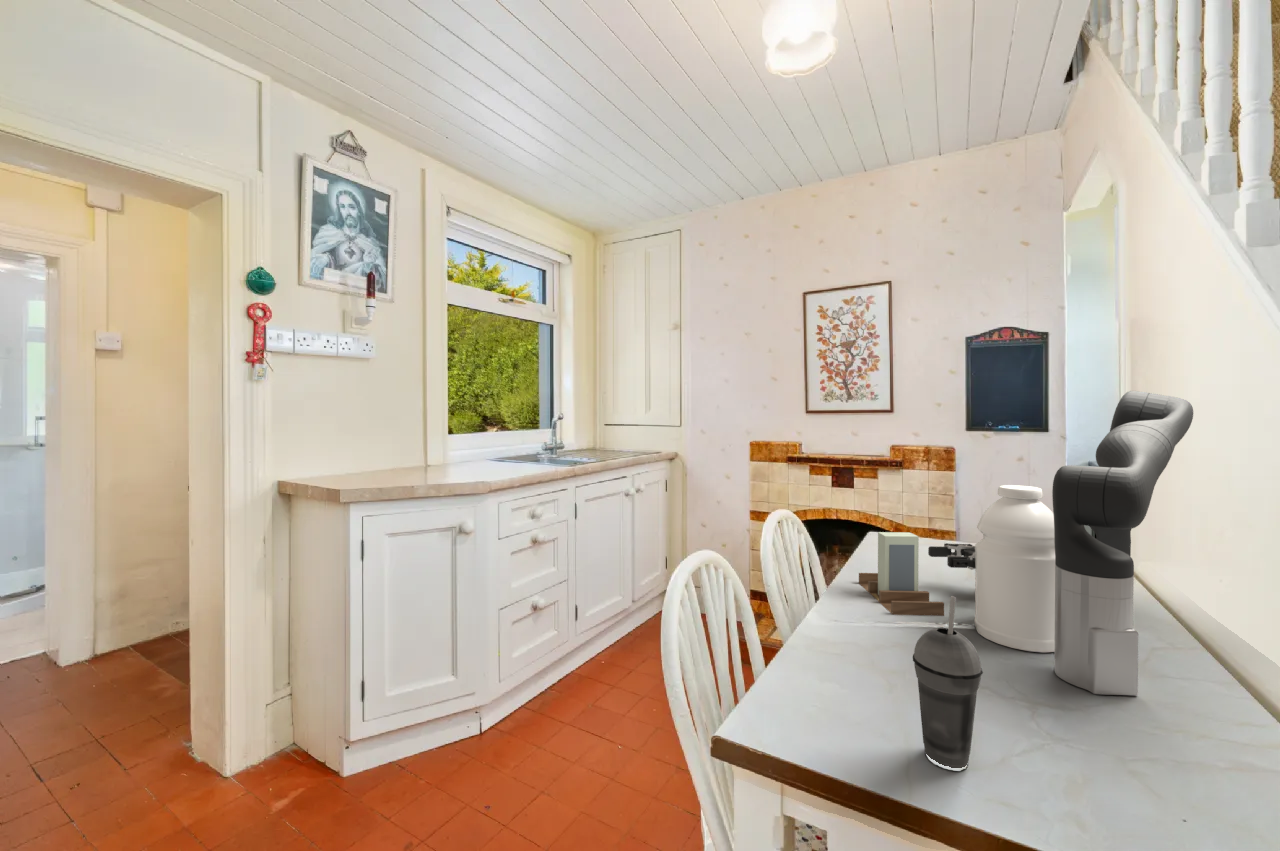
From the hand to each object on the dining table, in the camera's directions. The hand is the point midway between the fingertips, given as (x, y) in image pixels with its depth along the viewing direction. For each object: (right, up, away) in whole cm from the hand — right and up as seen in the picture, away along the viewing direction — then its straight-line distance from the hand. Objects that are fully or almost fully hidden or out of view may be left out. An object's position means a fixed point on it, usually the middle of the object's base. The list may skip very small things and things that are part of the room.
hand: (938, 556), depth 115 cm
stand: (-9, -10, +1) cm, 14 cm away
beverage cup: (-28, -12, -52) cm, 60 cm away
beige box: (-8, -9, +1) cm, 13 cm away
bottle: (+5, -11, -17) cm, 21 cm away
